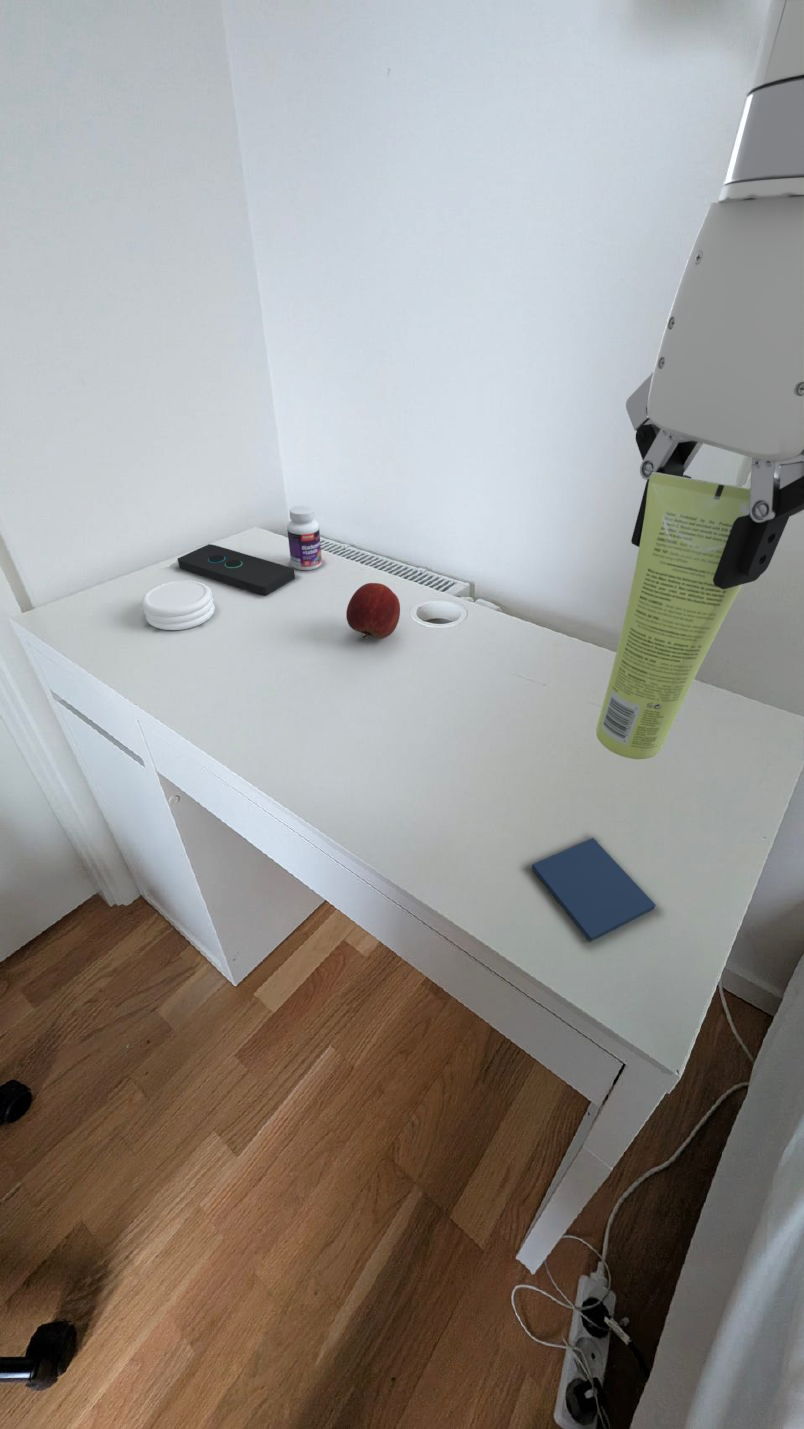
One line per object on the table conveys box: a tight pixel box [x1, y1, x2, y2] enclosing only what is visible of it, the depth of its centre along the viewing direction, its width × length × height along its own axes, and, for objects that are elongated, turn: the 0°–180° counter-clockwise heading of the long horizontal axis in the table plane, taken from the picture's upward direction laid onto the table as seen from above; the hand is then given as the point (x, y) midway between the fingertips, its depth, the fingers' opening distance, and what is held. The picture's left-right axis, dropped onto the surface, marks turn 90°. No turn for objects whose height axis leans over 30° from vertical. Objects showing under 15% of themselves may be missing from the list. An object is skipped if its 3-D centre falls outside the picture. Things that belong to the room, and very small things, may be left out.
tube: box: [595, 472, 751, 760], centre depth 39 cm, size 6×5×20 cm
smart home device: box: [177, 543, 296, 596], centre depth 99 cm, size 8×2×20 cm
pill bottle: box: [286, 505, 323, 571], centre depth 99 cm, size 5×5×10 cm
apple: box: [345, 582, 401, 639], centre depth 81 cm, size 7×8×8 cm
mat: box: [531, 837, 656, 943], centre depth 51 cm, size 8×7×1 cm
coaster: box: [141, 579, 216, 631], centre depth 87 cm, size 10×10×4 cm
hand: (691, 558), depth 35 cm, fingers closed on tube, 5 cm apart
